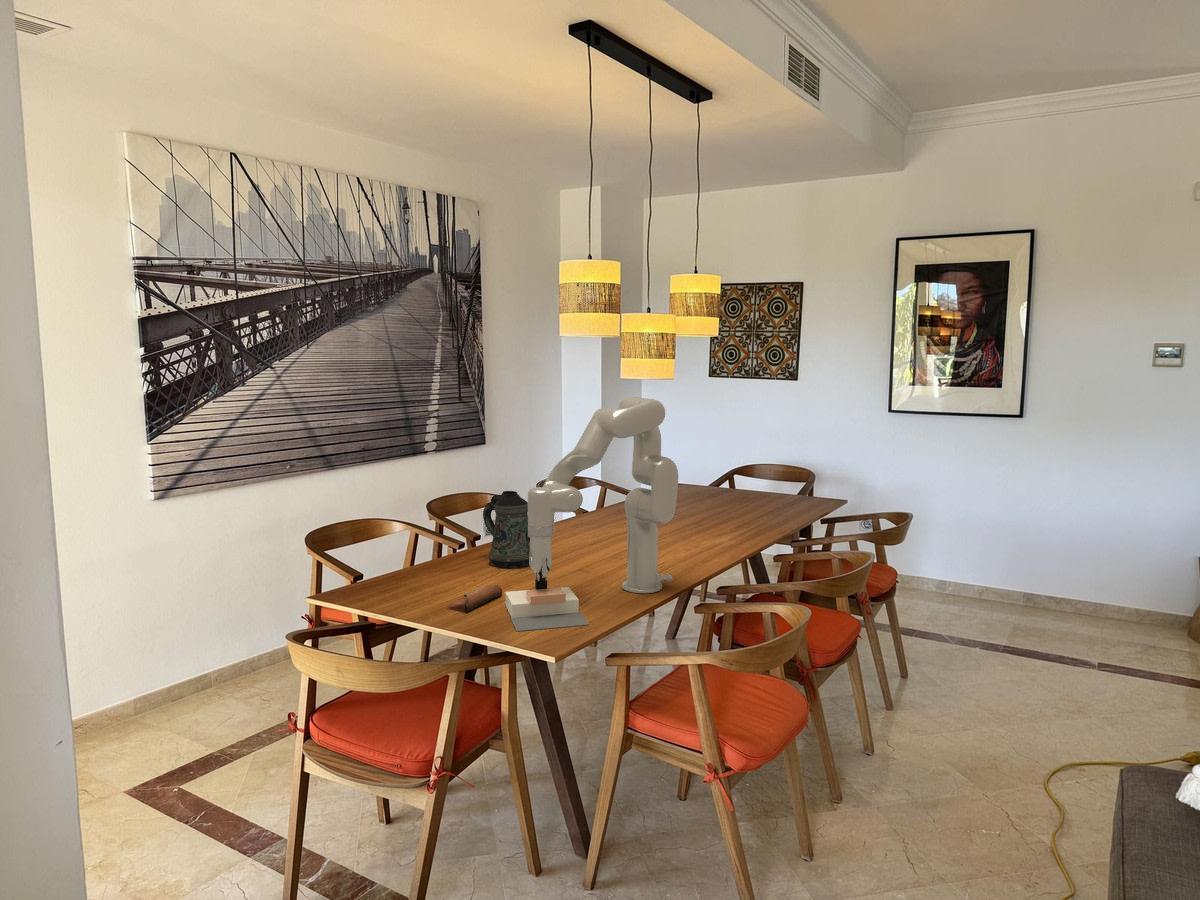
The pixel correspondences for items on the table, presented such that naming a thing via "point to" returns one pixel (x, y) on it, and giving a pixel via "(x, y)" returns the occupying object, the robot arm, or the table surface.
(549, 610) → the block
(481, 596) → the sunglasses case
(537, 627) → the mat
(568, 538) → the table surface
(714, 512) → the table surface
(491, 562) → the beer stein
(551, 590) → the tile
